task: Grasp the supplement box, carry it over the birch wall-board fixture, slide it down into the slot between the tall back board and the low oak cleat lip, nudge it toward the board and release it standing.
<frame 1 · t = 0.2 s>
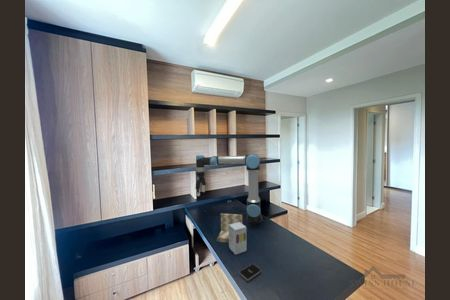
hand: (201, 193, 158), 28 cm above the table, fingers open, 13 cm apart
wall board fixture: (230, 236, 134), on the table
external hard drive: (250, 274, 95), on the table
supplement box: (237, 249, 117), on the table
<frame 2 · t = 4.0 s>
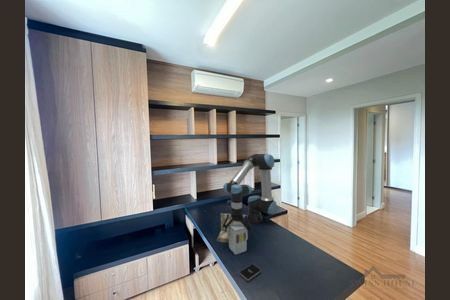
hand: (237, 237, 117), 8 cm above the table, fingers open, 13 cm apart
nothing on the table moved.
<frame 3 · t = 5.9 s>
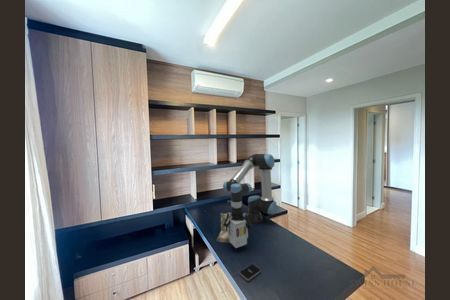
hand: (237, 236, 117), 9 cm above the table, fingers closed on supplement box, 13 cm apart
supplement box: (238, 243, 118), point 4 cm above the table, touching gripper
everything else where it was.
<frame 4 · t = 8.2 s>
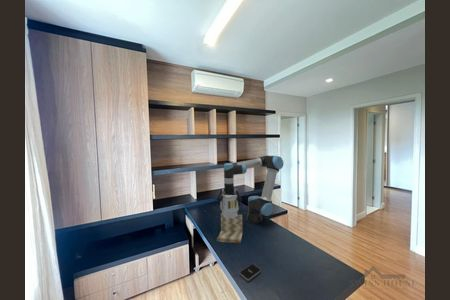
hand: (229, 209, 133), 22 cm above the table, fingers closed on supplement box, 13 cm apart
supplement box: (229, 215, 133), point 17 cm above the table, touching gripper
everything else where it was.
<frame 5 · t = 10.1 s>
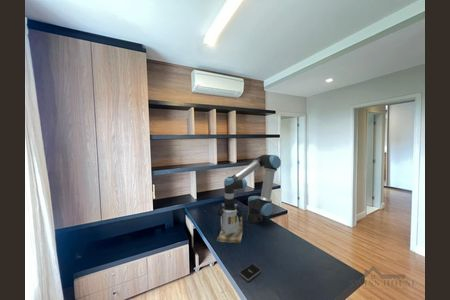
hand: (229, 224, 133), 10 cm above the table, fingers closed on supplement box, 13 cm apart
supplement box: (229, 230, 133), point 5 cm above the table, touching gripper
everything else where it was.
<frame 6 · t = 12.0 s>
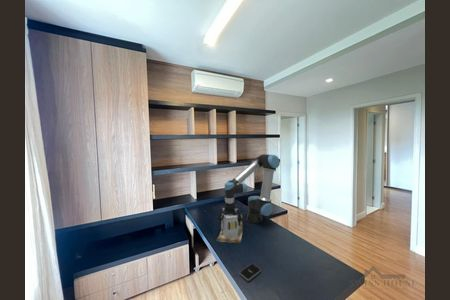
hand: (230, 228, 134), 6 cm above the table, fingers closed on supplement box, 12 cm apart
supplement box: (230, 235, 134), point 1 cm above the table, touching gripper, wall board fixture
everything else where it was.
when the fingers open (6 cm above the table, at t = 12.4 s): supplement box stays where it is, resting on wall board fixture.
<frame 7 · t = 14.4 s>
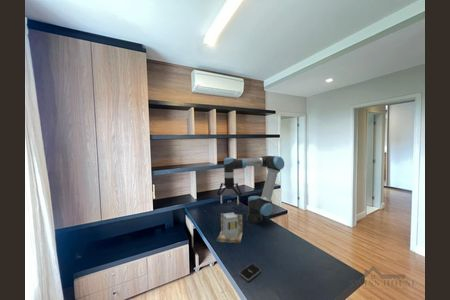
hand: (229, 203, 134), 26 cm above the table, fingers open, 13 cm apart
supplement box: (230, 235, 134), point 1 cm above the table, touching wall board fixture
everything else where it was.
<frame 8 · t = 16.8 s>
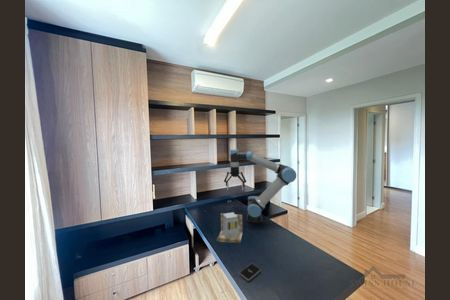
hand: (235, 189, 151), 33 cm above the table, fingers open, 13 cm apart
nothing on the table moved.
at the end: supplement box inside the target area on the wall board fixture (0.3 cm from its centre), point 0.6 cm above the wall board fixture's base; supplement box tilted 0°; the gripper is holding nothing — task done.
